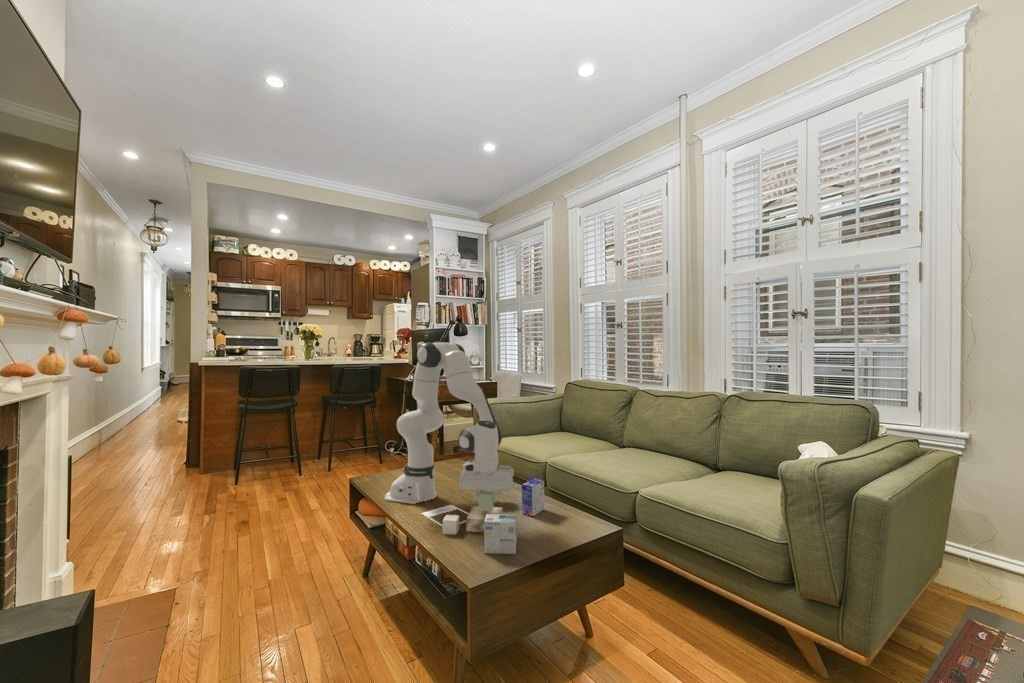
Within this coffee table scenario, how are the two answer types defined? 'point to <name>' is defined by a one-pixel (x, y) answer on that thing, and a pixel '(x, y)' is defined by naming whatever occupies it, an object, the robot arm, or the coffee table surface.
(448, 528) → the off-white block
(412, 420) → the robot arm
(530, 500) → the ink cartridge box
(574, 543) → the coffee table surface
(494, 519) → the light bulb box
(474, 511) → the birch block
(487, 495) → the sage block
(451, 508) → the photo frame
